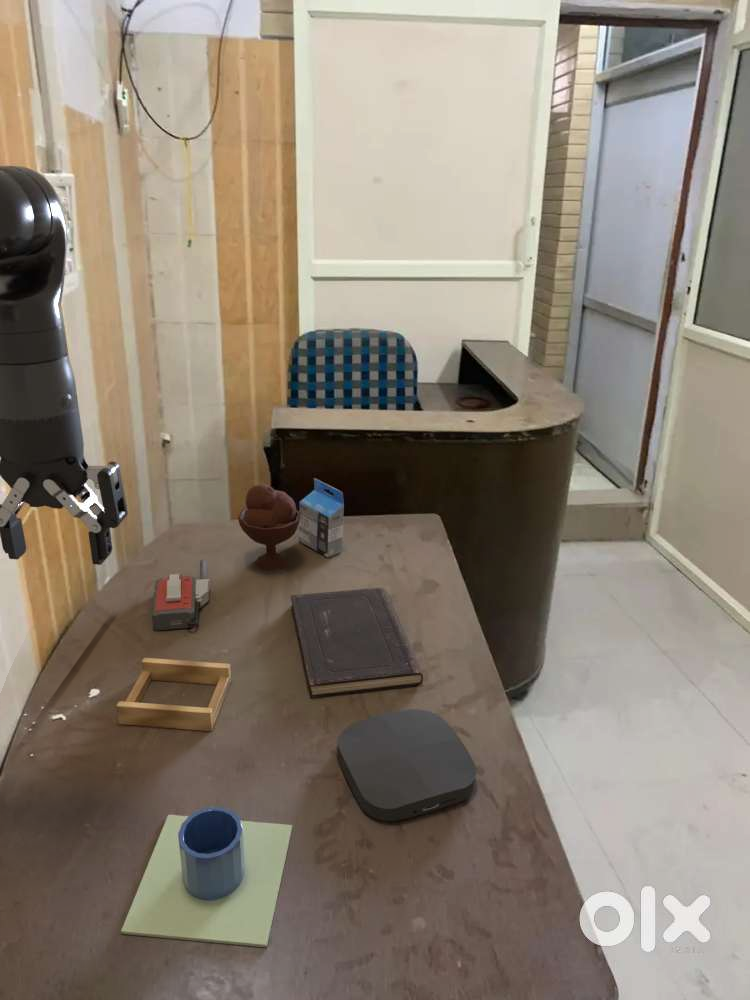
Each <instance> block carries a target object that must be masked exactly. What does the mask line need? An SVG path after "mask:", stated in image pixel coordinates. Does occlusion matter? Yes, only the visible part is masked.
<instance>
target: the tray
mask: <svg viewBox="0 0 750 1000" xmlns="http://www.w3.org/2000/svg"><path fill="white" fill-rule="evenodd" d="M141 667H142V671H141V673H140V675H139V677H137V680H136V682H135V683H134V684H133V687H132V689H131V691H130V692H129V694H128V696H127V698H126V699H125V700H123V701H121V700H119V701H118V702H117V704H116V706H115V707H116V714H117V721H118V724H119V725H125V726H138V727H139V726H140V727H152V728H153V727H154V728H165V729H176V730H188V731H189V730H190V731H191V730H192V731H204V732H212V731H213V729H214V726H215V724H216V721H217V719H218V716H219V713H220V710H221V709H222V705H223V703H224V700H225V698H226V695H227V693H228V691H229V688H230V685H231V683H232V673H231V671H232V670H231V663H224V662H223V663H222V662H221V663H220V662H207V661H197V660H196V661H193V660H181V659H180V660H179V659H169V658H168V659H167V658H156V657H155V658H154V657H143V659H142V660H141ZM152 681H161V682H174V683H175V682H176V683H189V684H201V685H215V688H214V692H213V694H212V696H211V698H210V701H209V703H208V706H207V707H202V706H189V705H188V706H187V705H177V704H176V705H174V704H162V703H150V702H149V703H148V702H141V701H142V699H143V697H144V695H145V694H146V692H147V690H148V688H149V686H150V684H151V682H152Z"/></svg>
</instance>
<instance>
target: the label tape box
mask: <svg viewBox="0 0 750 1000" xmlns="http://www.w3.org/2000/svg"><path fill="white" fill-rule="evenodd" d="M313 486H314V487H313V488H314V489H313V490H312V491H310V493H309V494H307V495H306V496H305V497H304V498H302V499H301V500H300V501H299V509H298V510H299V511H300V512H301V518H300V522H299V524H298V542H300V543H301V544H303V545H305V546H307V547H308V548H310V549H313V550H314V551H315V552H317V553H319V554H320V555H322V556H324V557H326V558H331V557H334V556H336V555H339V554H341V553H343V533H344V532H343V530H344V512H345V511H344V509H345V502H344V494H343V493H344V492H342V491H341V490H339V489H337V488H335V487H334V486H331V485H329V484H328V483H325V482H323V481H321V480H320V479H318V478H315V477H314V478H313ZM325 490H326V491H325ZM327 491H329V493H328V492H327ZM330 493H332V494H333V495H332V494H330Z"/></svg>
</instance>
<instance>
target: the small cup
mask: <svg viewBox="0 0 750 1000" xmlns="http://www.w3.org/2000/svg"><path fill="white" fill-rule="evenodd" d="M188 816H189V817H188V818H187V819H186V820H185V821H184V822H183V823H182V825H181V828H180V830H179V833H178V839H179V848H180V858H181V867H182V876H183V883H184V886H185V888H186V890H187V891H188V893H189V894H191V895H192V896H193V897H195V898H198V899H201V900H217V899H221V898H223V897H226V896H227V895H229V894H231V893H232V892H233V891H234V890H235V889H236V888H237V887H238V886H239V885H240V883H241V881H242V879H243V877H244V868H245V862H244V844H243V828H242V823H241V821H242V820H241V818H240V817H239V815H237V813H236V812H234V811H232V810H230V809H228V808H226V807H220V806H209V807H206V808H201V809H198V810H197V811H195V812H193V813H192V814H190V815H188Z"/></svg>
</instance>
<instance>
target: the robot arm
mask: <svg viewBox="0 0 750 1000" xmlns="http://www.w3.org/2000/svg"><path fill="white" fill-rule="evenodd" d="M67 229H68V228H67V221H66V216H65V211H64V208H63V205H62V202H61V200H60V197H59V194H58V193H57V191H56V190H55V188H54V187H53V185H52V184H51V182H50V181H49V180H48V179H46V177H45V176H43V175H42V174H41V173H40V172H38V171H37V170H34V169H32V168H30V167H26V166H22V165H0V477H1V478H2V480H3V481H4V482H5V483H6V484H7V485H8V486H9V487H10V488H11V489H10V491H9V493H8V494H7V496H6V497H5V499H4V500H3V501H2V503H0V542H1V547H2V550H3V552H4V553H5V554H7V555H8V558H9V559H10V560H19V559H21V557H22V556H23V555H24V554H25V553H26V552H27V543H26V538H25V531H24V527H23V521H22V518H21V517H18V514H19V513H20V512H21V510H22V508H23V507H24V505H25V504H28V505H29V508H41V507H47V508H51V509H58V510H61V509H64V508H65V510H66V511H67V512H68V513H69V514H70V515H71V516H72V517H73V518H78V519H79V520H80V521H81V522H82V523H83V524H84V526H86V528H87V529H88V530H90V531H89V532H88V541H89V548H90V554H91V561H92V564H93V565H97V566H102V564H103V563H104V562H105V561H106V560H107V559H108V557H109V556H110V555H111V554H112V551H113V541H112V534H111V529H117V528H118V526H119V525H121V523H122V522H123V521H124V519H125V518H126V517H127V516H128V512H129V511H128V506H127V502H126V495H125V489H124V483H123V479H122V473H121V468H120V465H119V464H118V463H117V462H116V461H109V462H108V463H107V464H106V465H90V464H89V463H88V461H87V459H86V456H85V453H84V449H85V447H84V445H85V443H84V436H83V429H82V421H81V414H80V408H79V401H78V392H77V385H76V379H75V373H74V370H73V367H72V363H71V359H70V355H69V349H68V348H69V347H68V342H67V341H68V340H67V334H66V329H65V328H66V327H65V321H64V315H63V311H62V300H63V292H64V285H65V278H66V277H65V275H66V262H67V248H68V247H67V246H68V230H67ZM88 480H91V481H92V482H93V484H94V488H95V489H97V490H99V492H100V499H101V502H102V504H101V503H100V502H99V500H98V495H97V494H96V493H95V492H94V491H93V490H92V489H91V488H90V486H89V485H88V484H87V482H88ZM77 497H79V498H80V501H79V500H78V499H77Z"/></svg>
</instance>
